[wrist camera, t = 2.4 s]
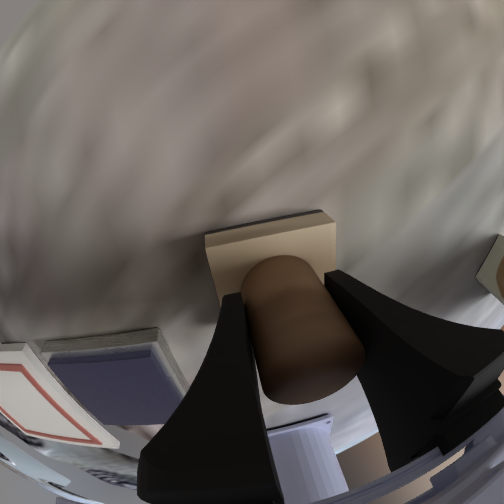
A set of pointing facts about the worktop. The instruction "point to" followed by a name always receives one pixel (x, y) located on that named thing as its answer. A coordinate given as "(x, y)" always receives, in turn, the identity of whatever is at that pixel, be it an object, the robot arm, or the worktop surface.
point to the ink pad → (120, 376)
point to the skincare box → (494, 270)
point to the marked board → (44, 402)
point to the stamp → (288, 303)
